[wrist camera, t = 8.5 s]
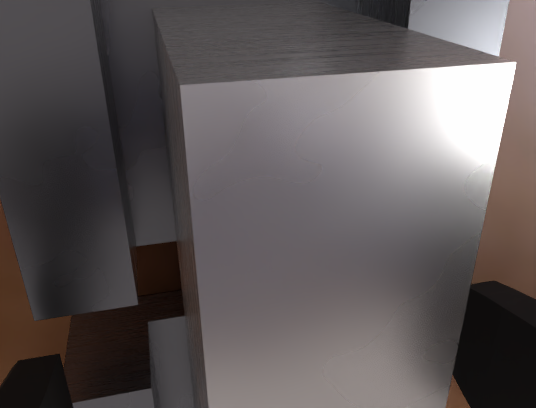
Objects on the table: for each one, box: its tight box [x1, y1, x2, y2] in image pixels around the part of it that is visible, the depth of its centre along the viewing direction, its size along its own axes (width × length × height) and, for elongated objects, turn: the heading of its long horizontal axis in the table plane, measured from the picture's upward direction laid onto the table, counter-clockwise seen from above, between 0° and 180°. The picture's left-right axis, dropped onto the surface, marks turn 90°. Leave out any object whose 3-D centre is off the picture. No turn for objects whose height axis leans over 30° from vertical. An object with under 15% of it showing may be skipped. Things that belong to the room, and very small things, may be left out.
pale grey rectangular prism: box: [152, 2, 516, 408], centre depth 9 cm, size 3×11×6 cm, turn 0°
